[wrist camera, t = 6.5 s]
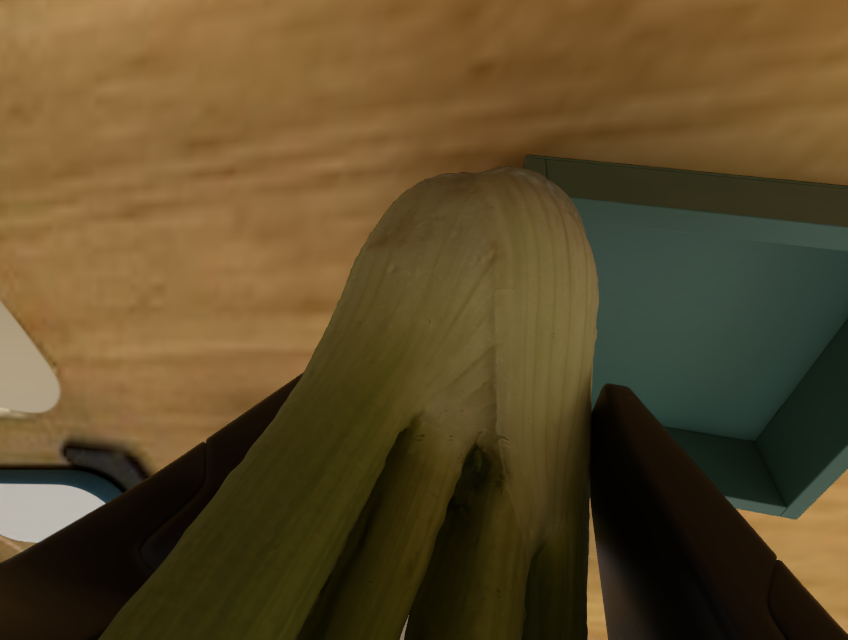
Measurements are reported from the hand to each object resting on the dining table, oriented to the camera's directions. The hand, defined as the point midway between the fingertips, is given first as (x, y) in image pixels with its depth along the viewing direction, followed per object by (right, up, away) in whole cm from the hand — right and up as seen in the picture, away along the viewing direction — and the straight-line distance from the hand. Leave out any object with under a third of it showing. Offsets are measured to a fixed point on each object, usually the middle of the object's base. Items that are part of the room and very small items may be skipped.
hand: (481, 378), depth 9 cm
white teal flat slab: (-40, -18, +39) cm, 59 cm away
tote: (+10, +1, +13) cm, 17 cm away
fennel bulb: (+1, +3, +4) cm, 5 cm away
